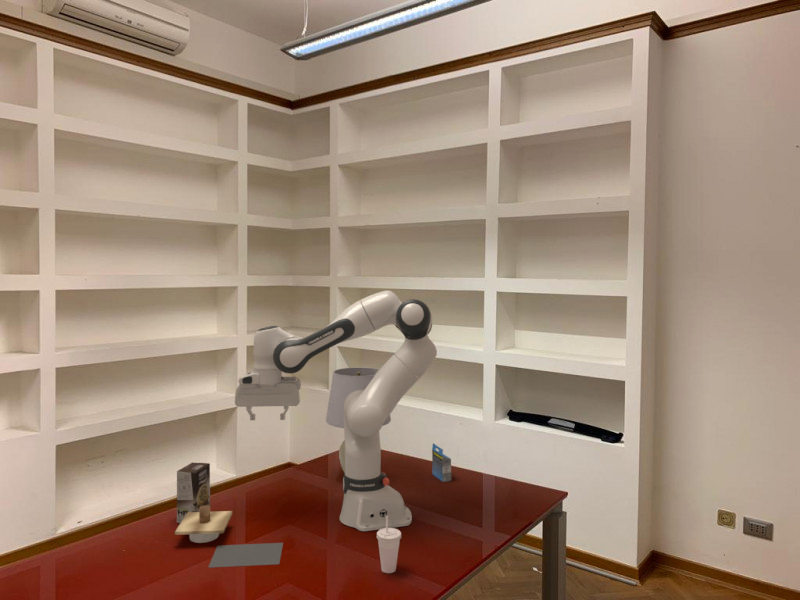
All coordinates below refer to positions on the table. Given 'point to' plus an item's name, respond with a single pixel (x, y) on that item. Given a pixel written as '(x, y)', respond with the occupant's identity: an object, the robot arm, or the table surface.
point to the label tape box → (441, 464)
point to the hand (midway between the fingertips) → (267, 419)
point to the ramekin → (203, 537)
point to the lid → (204, 522)
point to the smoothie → (388, 547)
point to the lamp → (340, 390)
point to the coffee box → (192, 488)
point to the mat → (246, 555)
